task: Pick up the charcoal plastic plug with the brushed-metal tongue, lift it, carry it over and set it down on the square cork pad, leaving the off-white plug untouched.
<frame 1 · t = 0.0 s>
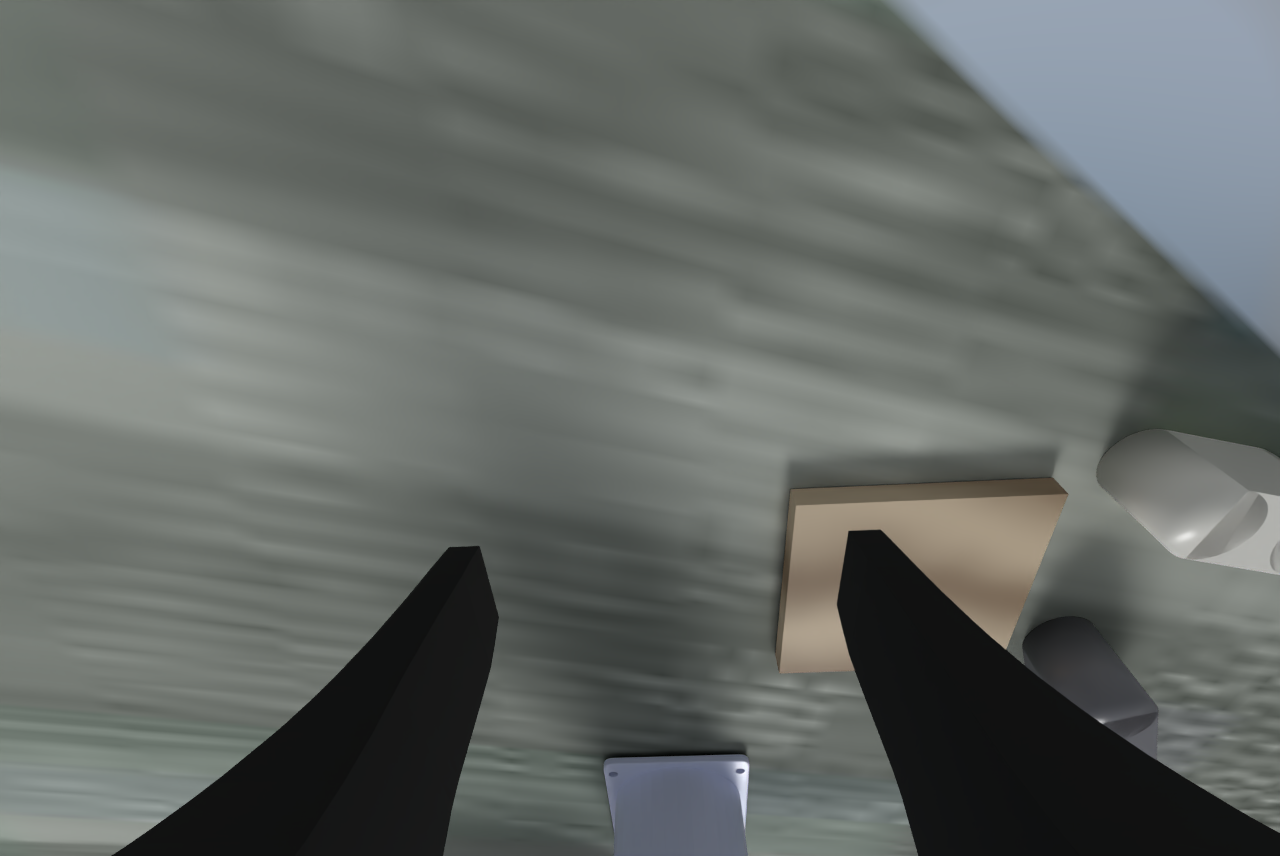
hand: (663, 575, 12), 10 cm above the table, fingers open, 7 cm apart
charcoal plug: (1061, 671, 29), on the table
offwhite plug: (1186, 471, 23), on the table
cork pad: (898, 576, 26), on the table
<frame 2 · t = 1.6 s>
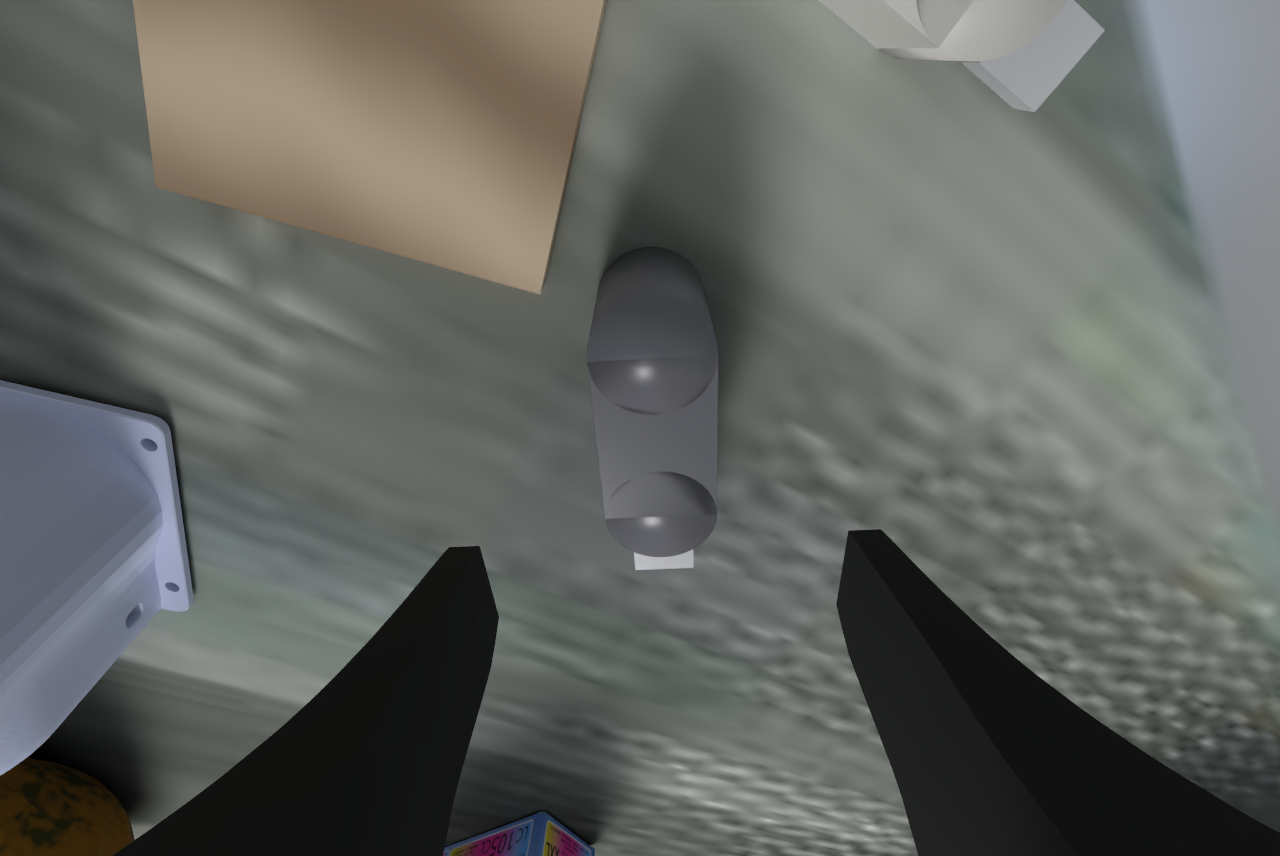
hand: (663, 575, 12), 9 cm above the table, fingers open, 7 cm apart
charcoal plug: (654, 375, 19), on the table
ink cartridge box: (508, 844, 37), on the table
cork pad: (382, 29, 14), on the table
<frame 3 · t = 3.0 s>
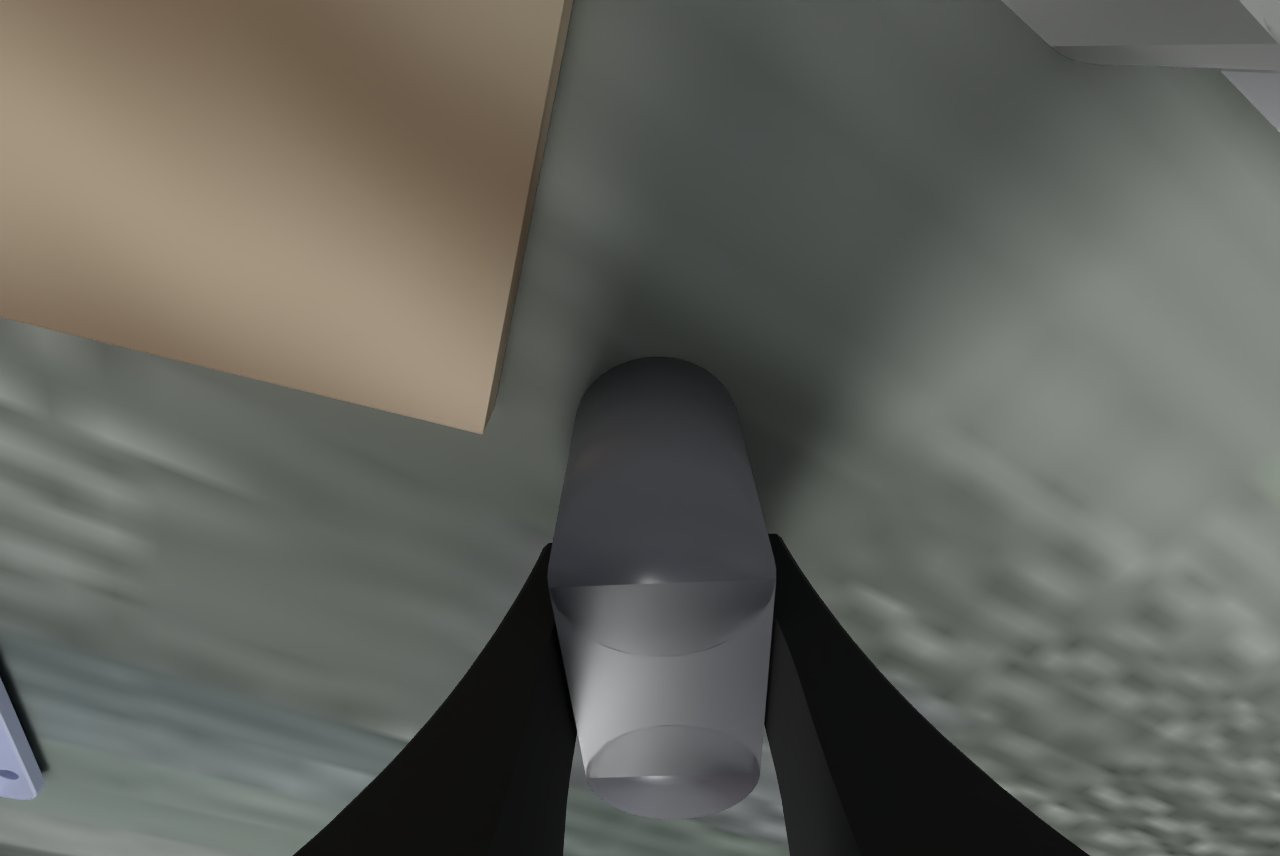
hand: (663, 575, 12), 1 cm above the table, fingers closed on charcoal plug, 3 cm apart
charcoal plug: (661, 527, 13), on the table, touching gripper
cork pad: (191, 13, 8), on the table
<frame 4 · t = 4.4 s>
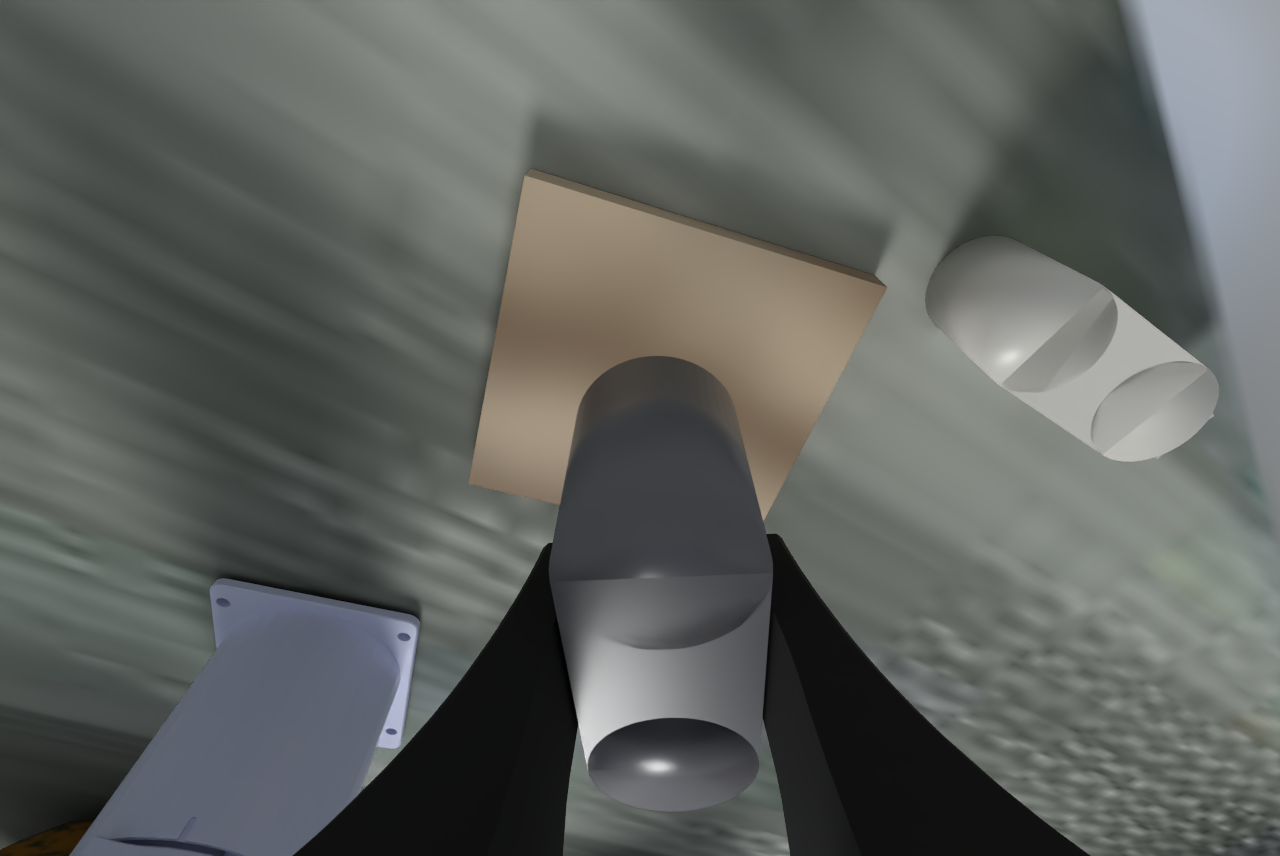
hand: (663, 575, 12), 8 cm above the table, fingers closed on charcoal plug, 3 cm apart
charcoal plug: (661, 524, 13), point 7 cm above the table, touching gripper
offwhite plug: (1025, 322, 18), on the table
cork pad: (656, 380, 19), on the table
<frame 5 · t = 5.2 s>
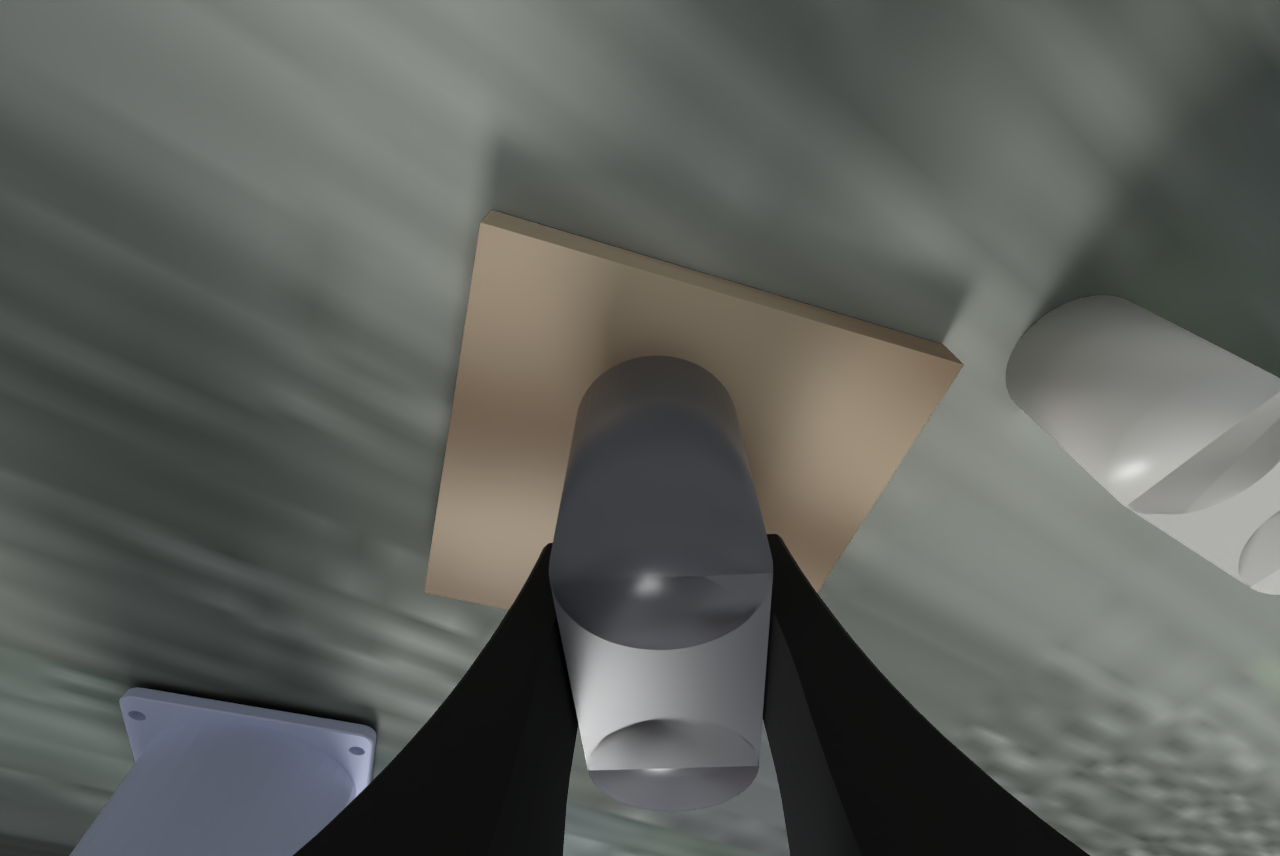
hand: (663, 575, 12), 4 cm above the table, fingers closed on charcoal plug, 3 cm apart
charcoal plug: (661, 524, 13), point 2 cm above the table, touching gripper
offwhite plug: (1131, 400, 14), on the table
cork pad: (658, 468, 15), on the table
when the fingers open (3 cm above the table, at t = 5.7 s): charcoal plug stays where it is, resting on cork pad.
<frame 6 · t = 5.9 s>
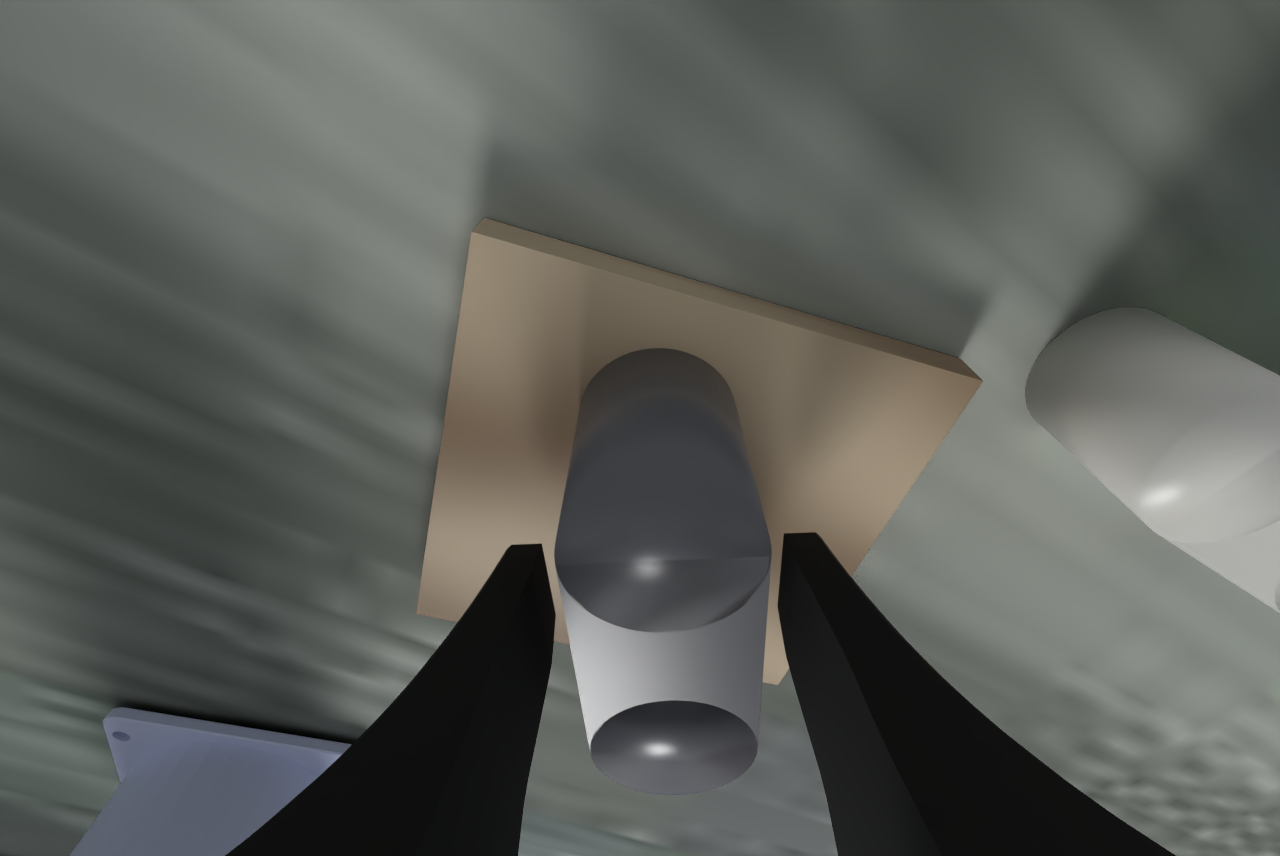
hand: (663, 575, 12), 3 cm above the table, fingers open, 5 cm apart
charcoal plug: (662, 514, 14), point 1 cm above the table, touching cork pad
offwhite plug: (1157, 416, 13), on the table
cork pad: (660, 485, 14), on the table
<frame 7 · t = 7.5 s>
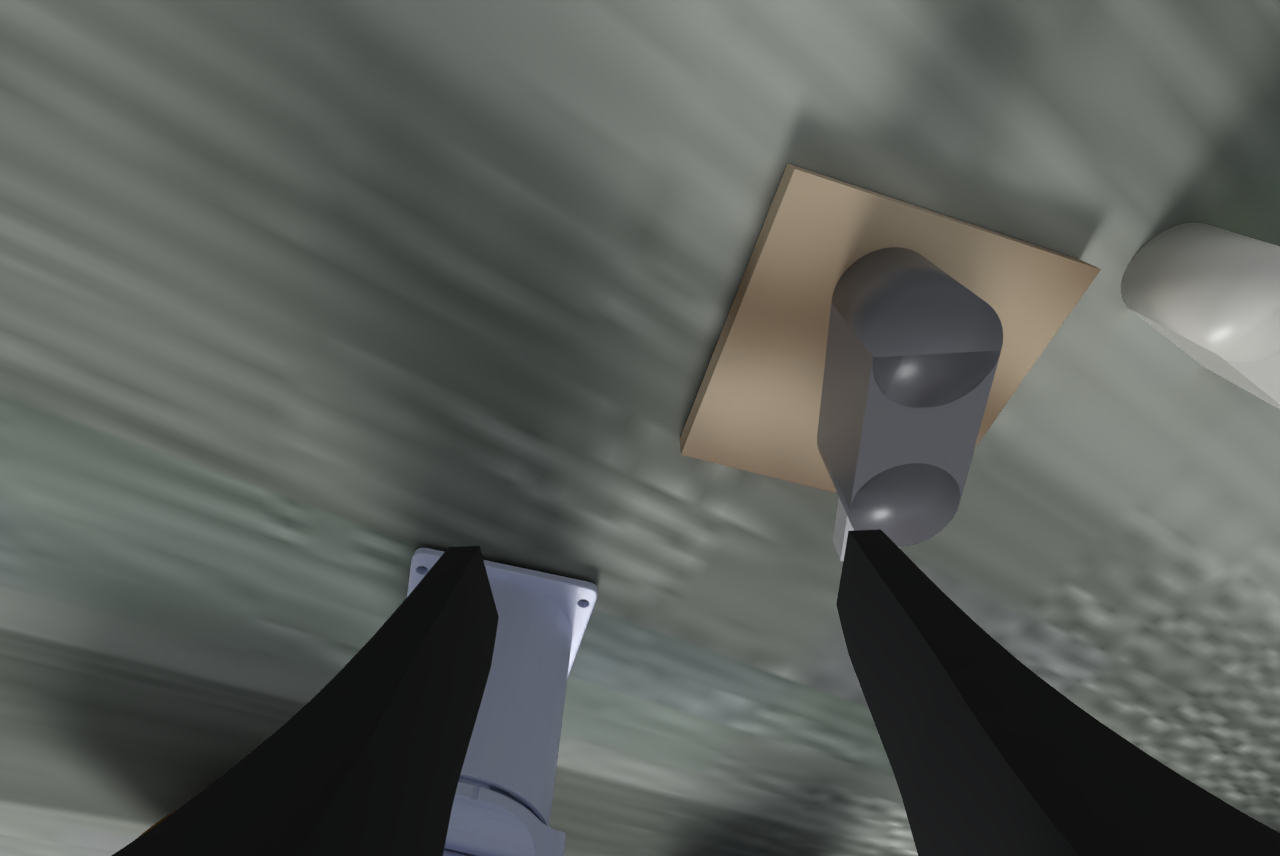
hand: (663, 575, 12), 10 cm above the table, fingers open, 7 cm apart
charcoal plug: (872, 371, 20), point 1 cm above the table, touching cork pad
offwhite plug: (1209, 302, 20), on the table
cork pad: (862, 357, 21), on the table
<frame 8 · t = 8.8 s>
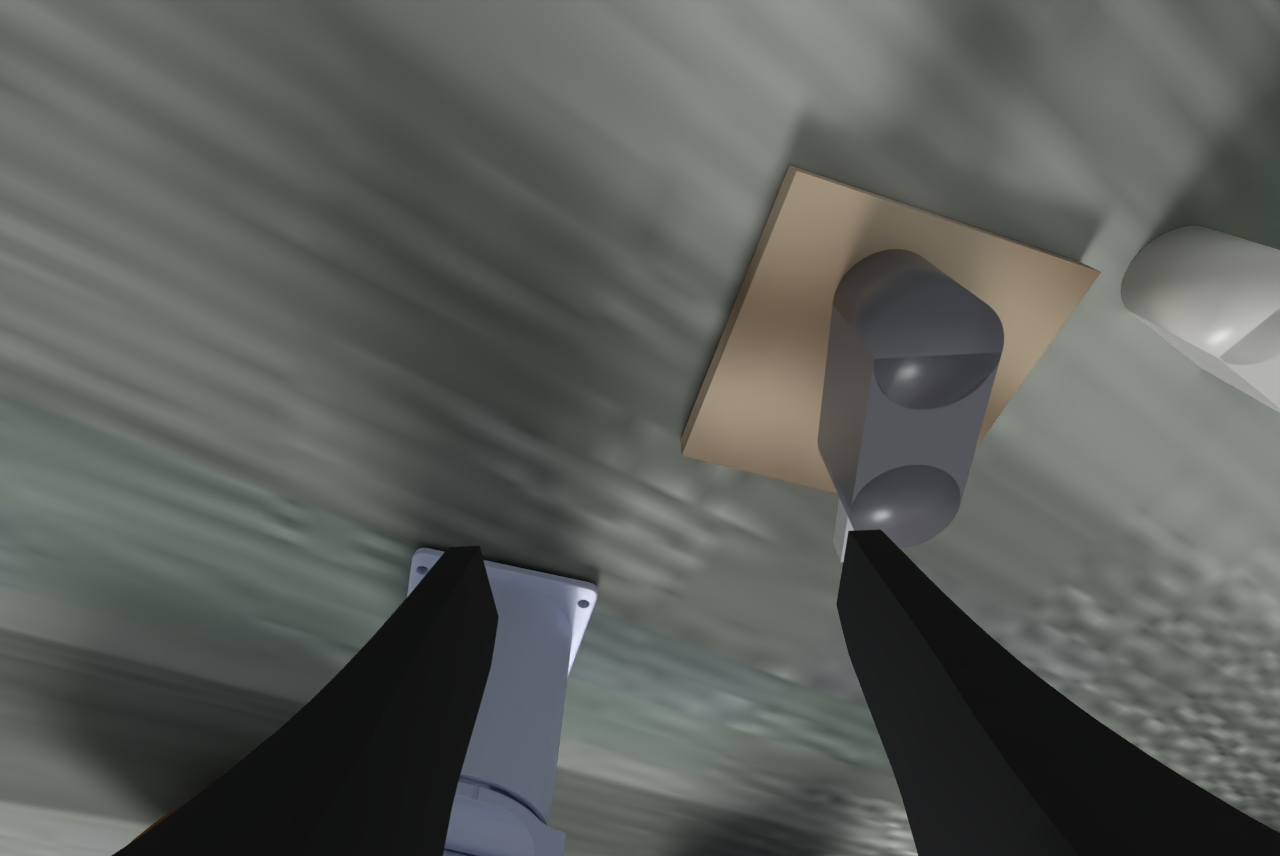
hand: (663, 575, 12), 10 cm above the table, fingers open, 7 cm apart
charcoal plug: (873, 372, 20), point 1 cm above the table, touching cork pad
offwhite plug: (1208, 304, 20), on the table
cork pad: (863, 358, 21), on the table
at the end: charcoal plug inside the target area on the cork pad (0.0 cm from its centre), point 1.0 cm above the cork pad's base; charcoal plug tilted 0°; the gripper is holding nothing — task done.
